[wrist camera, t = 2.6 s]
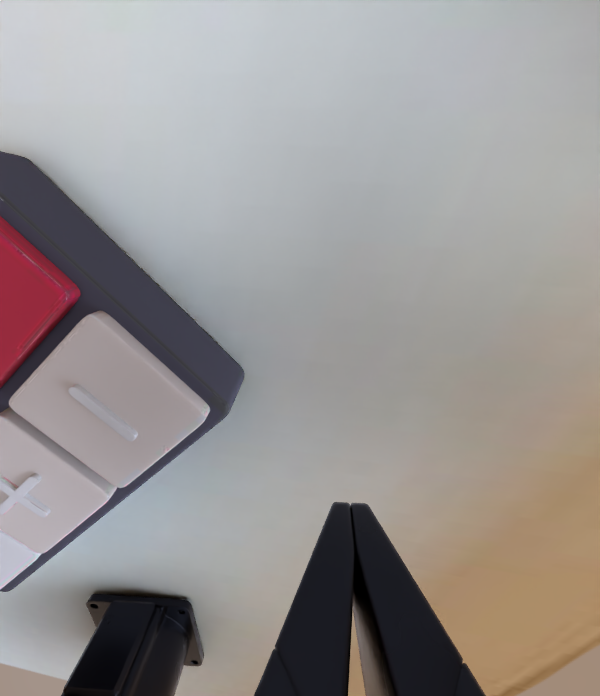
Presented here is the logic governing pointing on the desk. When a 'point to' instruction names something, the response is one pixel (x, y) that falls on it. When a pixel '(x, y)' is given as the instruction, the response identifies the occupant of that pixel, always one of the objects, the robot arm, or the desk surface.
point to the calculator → (86, 373)
